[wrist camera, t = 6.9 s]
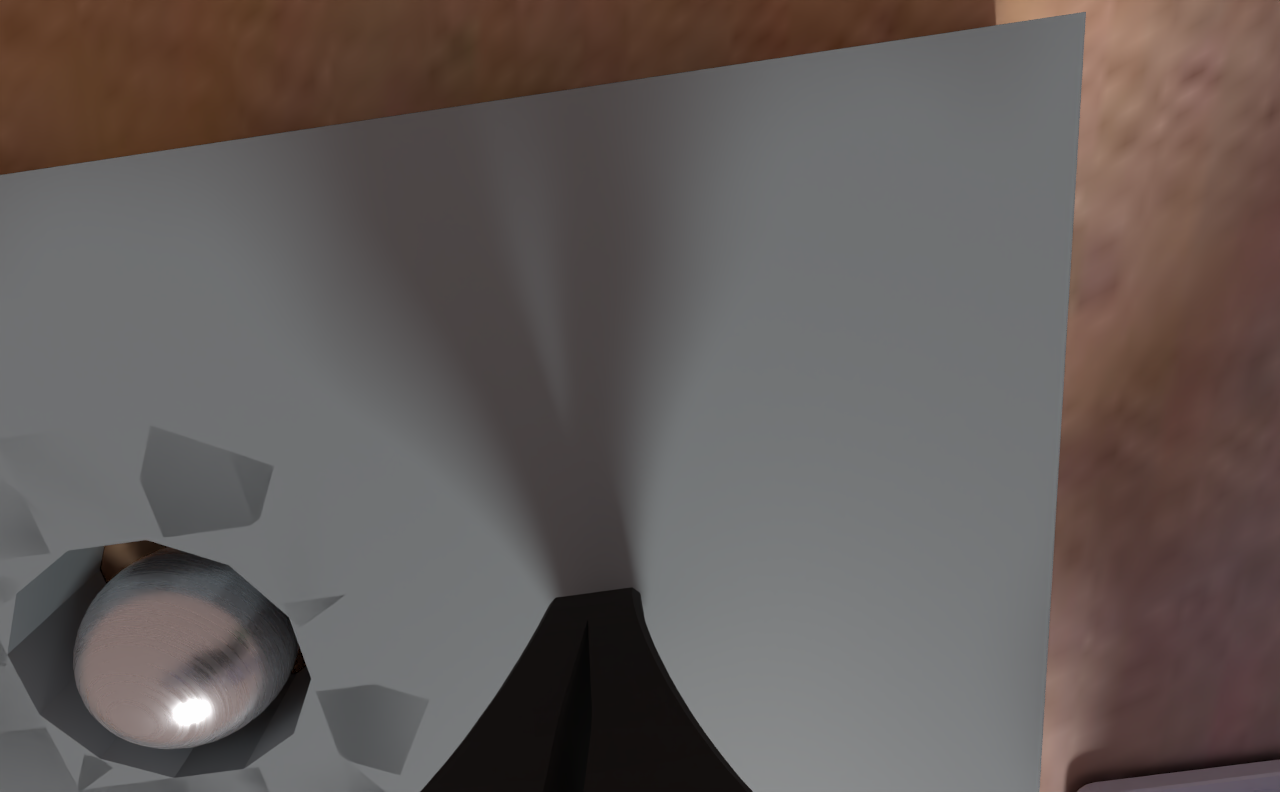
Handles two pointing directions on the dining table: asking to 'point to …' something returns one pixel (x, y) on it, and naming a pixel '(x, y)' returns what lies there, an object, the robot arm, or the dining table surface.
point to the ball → (180, 652)
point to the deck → (569, 412)
